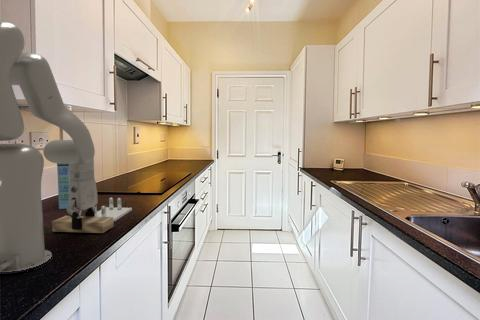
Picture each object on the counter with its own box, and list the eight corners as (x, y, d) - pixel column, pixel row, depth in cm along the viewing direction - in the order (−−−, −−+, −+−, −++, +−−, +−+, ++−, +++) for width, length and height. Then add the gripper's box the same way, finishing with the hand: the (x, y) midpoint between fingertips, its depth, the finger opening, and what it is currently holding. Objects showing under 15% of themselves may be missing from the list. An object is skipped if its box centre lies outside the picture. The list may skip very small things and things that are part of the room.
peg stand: (110, 224, 107) (110, 208, 106) (79, 223, 107) (78, 207, 107) (132, 209, 126) (131, 196, 125) (105, 209, 126) (105, 196, 126)
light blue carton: (72, 199, 144) (70, 154, 142) (83, 198, 146) (81, 154, 143) (58, 209, 126) (55, 158, 123) (71, 208, 127) (68, 157, 124)
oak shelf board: (113, 226, 103) (113, 217, 103) (103, 233, 96) (102, 223, 96) (66, 225, 104) (65, 215, 104) (52, 231, 97) (51, 221, 97)
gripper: (77, 179, 90) (79, 234, 91) (105, 172, 107) (106, 218, 108) (54, 179, 90) (56, 234, 91) (86, 172, 107) (87, 218, 109)
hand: (83, 225), depth 100 cm, fingers closed on oak shelf board, 7 cm apart
